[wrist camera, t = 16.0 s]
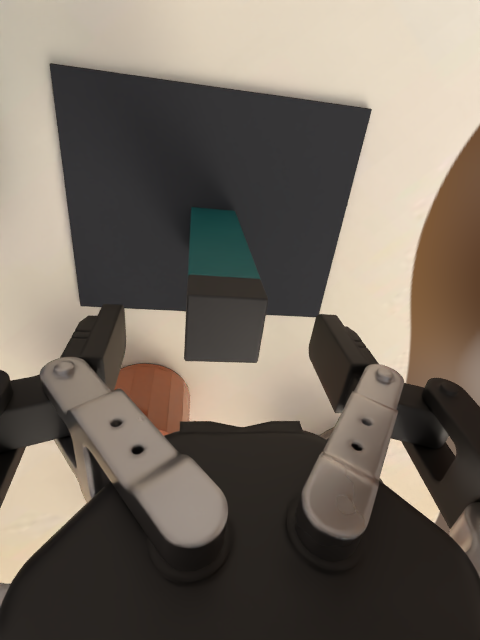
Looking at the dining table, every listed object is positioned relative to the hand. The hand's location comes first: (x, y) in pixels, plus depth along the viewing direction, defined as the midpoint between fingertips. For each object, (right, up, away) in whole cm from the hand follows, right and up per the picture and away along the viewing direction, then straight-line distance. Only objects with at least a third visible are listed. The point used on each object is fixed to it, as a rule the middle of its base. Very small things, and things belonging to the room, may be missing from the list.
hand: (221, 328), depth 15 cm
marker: (-1, +7, +12) cm, 14 cm away
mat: (-1, +8, +11) cm, 14 cm away
